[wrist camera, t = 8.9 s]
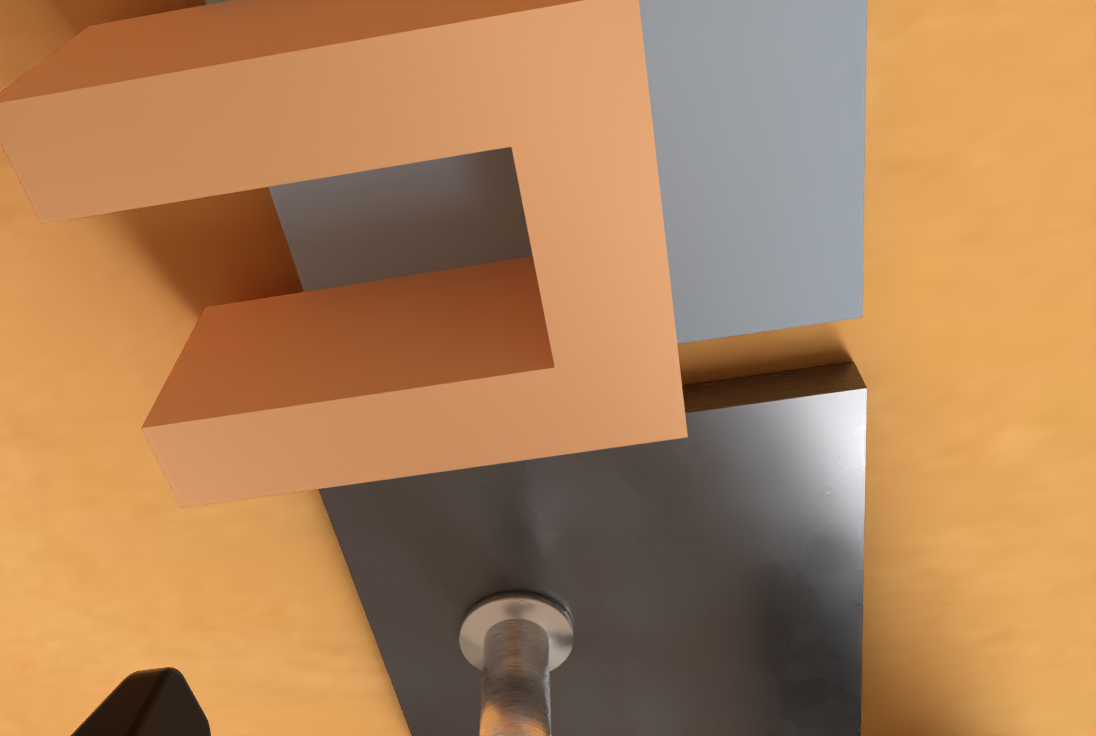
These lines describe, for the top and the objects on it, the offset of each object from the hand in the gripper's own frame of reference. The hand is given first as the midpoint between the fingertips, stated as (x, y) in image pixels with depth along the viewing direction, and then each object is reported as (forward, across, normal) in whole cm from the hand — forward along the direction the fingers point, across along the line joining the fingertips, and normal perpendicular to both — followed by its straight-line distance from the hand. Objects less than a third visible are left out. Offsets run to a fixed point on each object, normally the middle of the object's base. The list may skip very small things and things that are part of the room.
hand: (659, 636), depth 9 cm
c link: (+11, +4, 0) cm, 12 cm away
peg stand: (+12, +1, +12) cm, 17 cm away
